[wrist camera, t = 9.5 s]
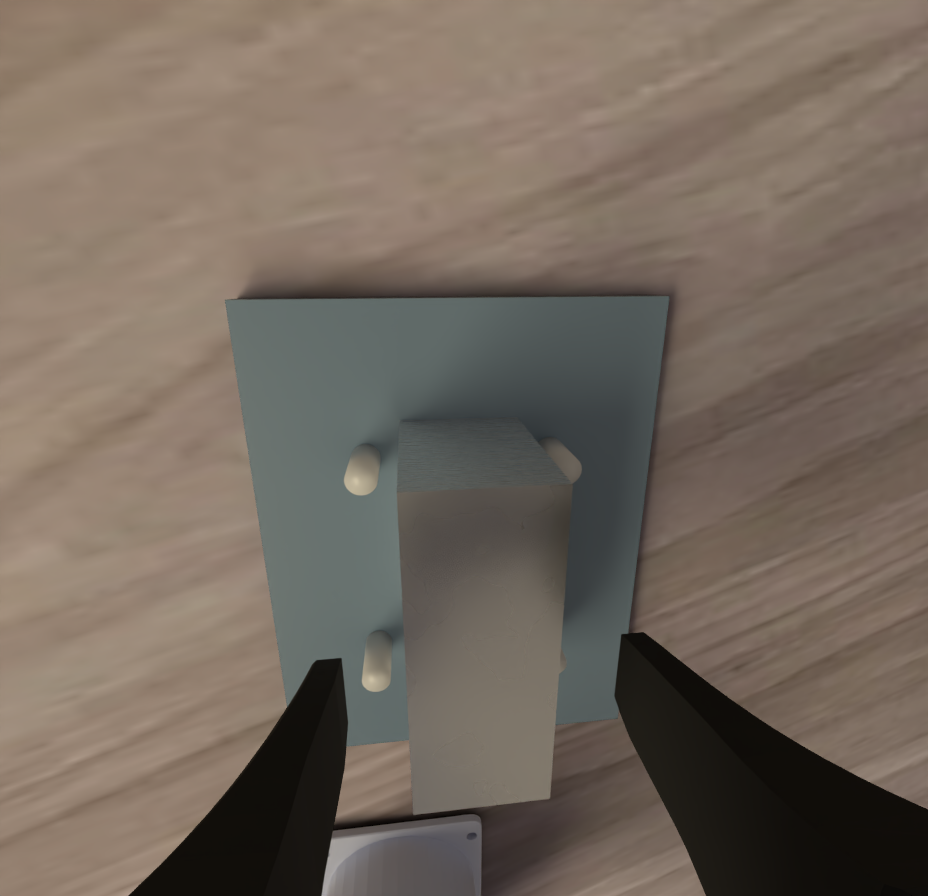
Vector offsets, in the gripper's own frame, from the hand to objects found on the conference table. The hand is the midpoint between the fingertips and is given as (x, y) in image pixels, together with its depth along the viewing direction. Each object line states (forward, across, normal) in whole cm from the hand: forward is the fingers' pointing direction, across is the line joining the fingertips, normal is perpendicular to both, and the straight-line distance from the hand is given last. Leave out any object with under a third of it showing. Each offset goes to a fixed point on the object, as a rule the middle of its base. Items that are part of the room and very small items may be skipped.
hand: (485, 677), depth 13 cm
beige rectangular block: (+6, 0, 0) cm, 6 cm away
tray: (+7, 0, 0) cm, 7 cm away
